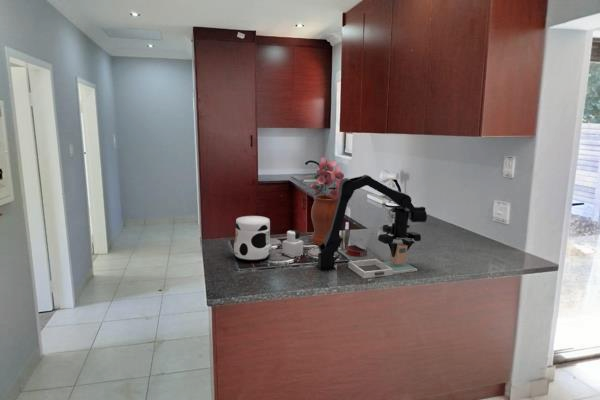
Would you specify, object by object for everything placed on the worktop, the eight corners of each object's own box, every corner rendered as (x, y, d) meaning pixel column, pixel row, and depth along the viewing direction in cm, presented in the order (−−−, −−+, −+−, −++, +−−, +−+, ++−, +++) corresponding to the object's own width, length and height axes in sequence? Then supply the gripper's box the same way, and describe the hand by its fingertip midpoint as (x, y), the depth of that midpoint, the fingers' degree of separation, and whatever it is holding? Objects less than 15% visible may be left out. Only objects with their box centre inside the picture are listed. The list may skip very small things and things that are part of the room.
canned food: (352, 259, 204) (357, 240, 206) (368, 262, 197) (373, 242, 199) (339, 253, 197) (344, 233, 199) (355, 256, 189) (361, 235, 192)
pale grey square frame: (364, 279, 165) (365, 273, 165) (348, 267, 179) (348, 261, 178) (394, 275, 170) (394, 269, 170) (375, 264, 184) (375, 258, 183)
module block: (396, 264, 176) (398, 246, 175) (389, 260, 181) (391, 243, 179) (406, 263, 178) (407, 245, 176) (399, 259, 183) (400, 242, 181)
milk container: (229, 253, 192) (229, 216, 189) (264, 250, 199) (265, 214, 196) (239, 265, 177) (239, 225, 173) (276, 261, 183) (277, 222, 180)
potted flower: (323, 233, 233) (326, 155, 225) (355, 244, 213) (360, 158, 205) (297, 238, 221) (300, 155, 213) (328, 250, 202) (332, 159, 193)
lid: (391, 274, 172) (392, 271, 172) (376, 264, 183) (377, 262, 183) (417, 271, 177) (417, 268, 176) (401, 262, 188) (401, 259, 187)
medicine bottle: (291, 252, 198) (292, 228, 195) (303, 255, 193) (304, 230, 191) (282, 255, 192) (282, 230, 190) (293, 258, 188) (294, 233, 186)
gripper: (408, 216, 187) (405, 249, 190) (372, 218, 180) (370, 252, 183) (423, 222, 177) (420, 256, 180) (386, 224, 170) (383, 260, 173)
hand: (398, 256), depth 179 cm, fingers closed on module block, 5 cm apart
